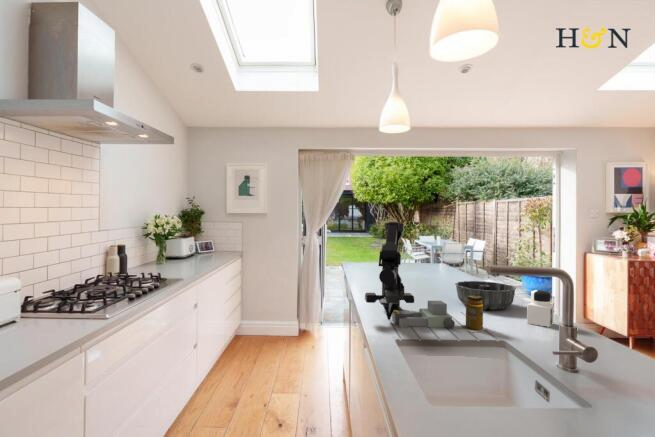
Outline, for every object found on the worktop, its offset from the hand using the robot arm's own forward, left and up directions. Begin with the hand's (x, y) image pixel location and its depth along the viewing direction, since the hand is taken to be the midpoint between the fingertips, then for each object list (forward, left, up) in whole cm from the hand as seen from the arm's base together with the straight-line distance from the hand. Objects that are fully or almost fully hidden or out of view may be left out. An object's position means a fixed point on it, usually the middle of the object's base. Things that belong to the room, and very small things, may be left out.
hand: (388, 319), depth 137 cm
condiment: (+7, +30, -2) cm, 31 cm away
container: (+1, +60, -1) cm, 60 cm away
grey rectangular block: (0, +5, -1) cm, 5 cm away
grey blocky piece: (0, +13, -1) cm, 13 cm away
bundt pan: (-27, +51, -2) cm, 58 cm away
